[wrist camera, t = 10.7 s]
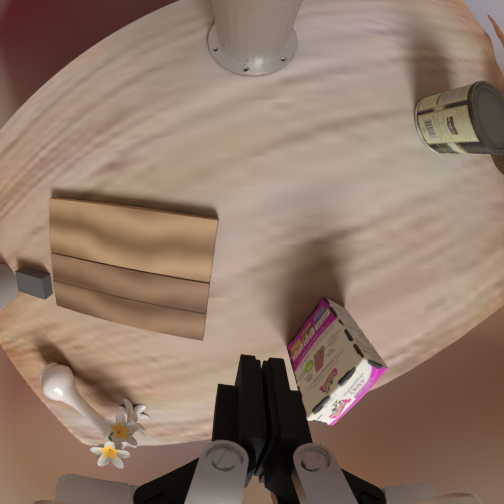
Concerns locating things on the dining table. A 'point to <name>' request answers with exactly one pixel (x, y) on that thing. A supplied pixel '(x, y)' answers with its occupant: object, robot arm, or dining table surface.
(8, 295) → the cup
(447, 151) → the coffee can
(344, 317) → the candy bar box
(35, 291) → the block
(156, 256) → the plank
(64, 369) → the flower vase
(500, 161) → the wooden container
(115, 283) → the laid board
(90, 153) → the dining table surface
